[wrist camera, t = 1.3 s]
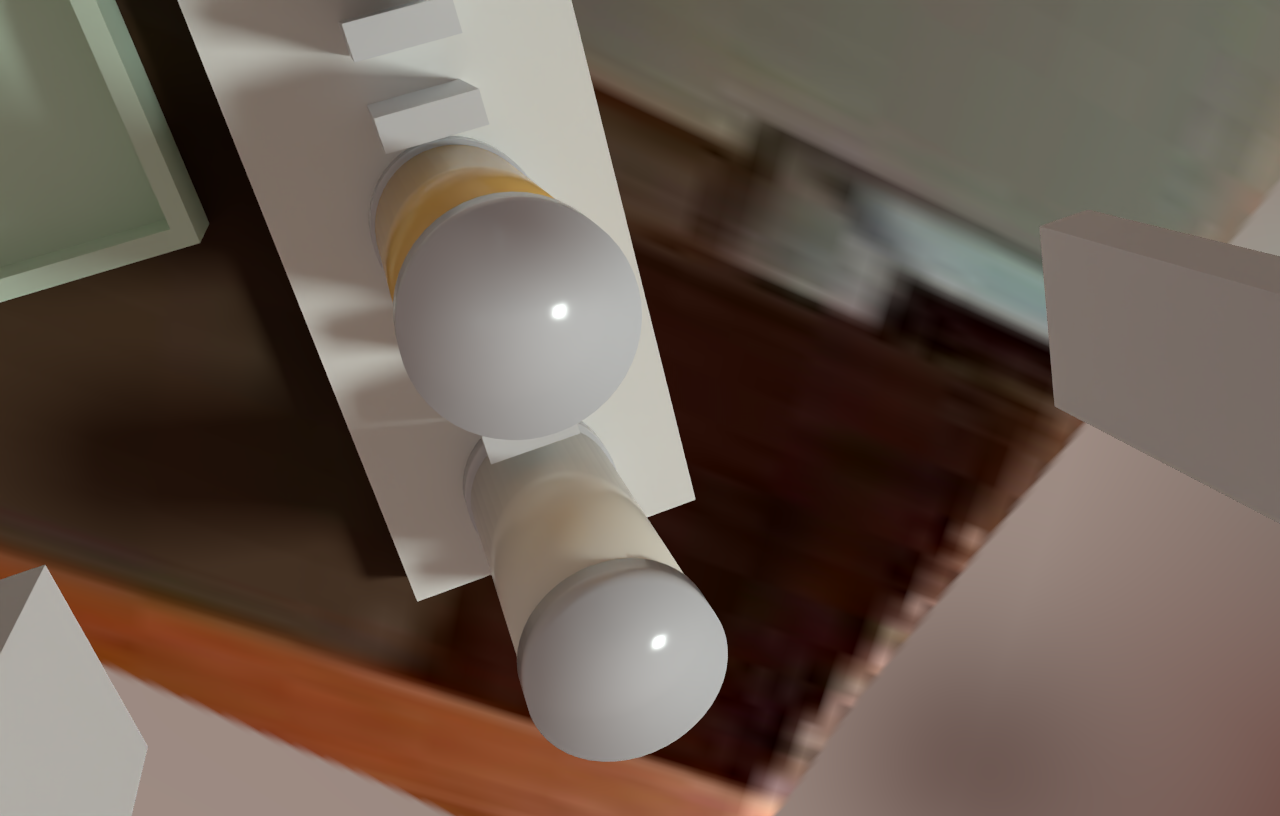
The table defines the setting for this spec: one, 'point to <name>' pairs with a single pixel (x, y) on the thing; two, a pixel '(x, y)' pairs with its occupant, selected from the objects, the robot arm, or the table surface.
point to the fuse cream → (593, 602)
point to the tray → (82, 150)
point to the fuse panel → (340, 235)
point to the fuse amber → (500, 292)
